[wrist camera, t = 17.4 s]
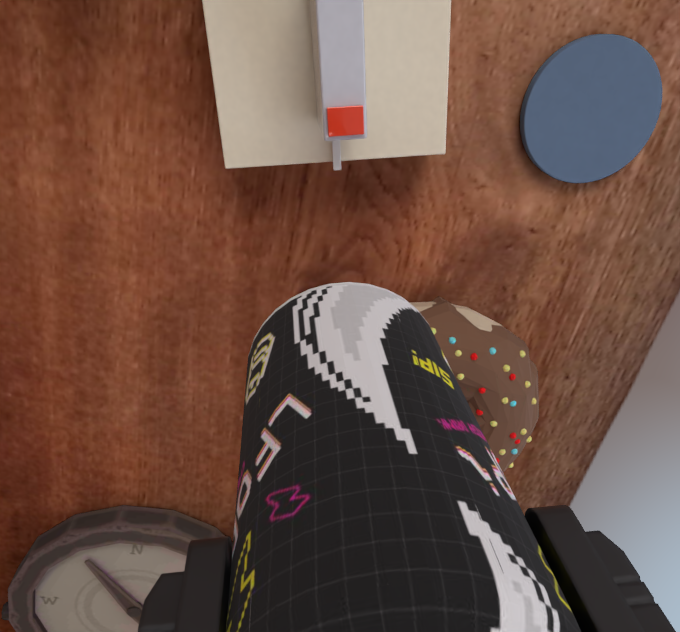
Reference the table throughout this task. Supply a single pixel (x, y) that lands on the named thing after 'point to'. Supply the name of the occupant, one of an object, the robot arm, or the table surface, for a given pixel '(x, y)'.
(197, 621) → the robot arm
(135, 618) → the compass
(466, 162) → the table surface
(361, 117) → the tap handle
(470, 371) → the donut
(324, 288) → the beverage can
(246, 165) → the base
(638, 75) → the coaster
